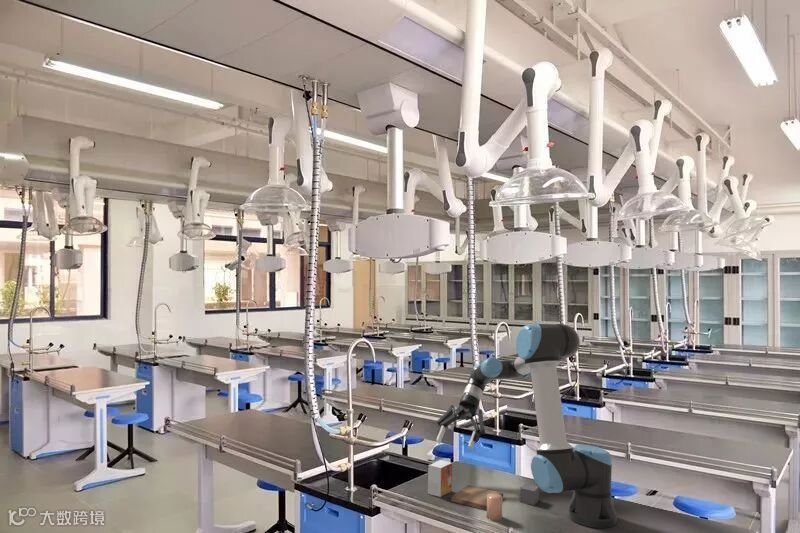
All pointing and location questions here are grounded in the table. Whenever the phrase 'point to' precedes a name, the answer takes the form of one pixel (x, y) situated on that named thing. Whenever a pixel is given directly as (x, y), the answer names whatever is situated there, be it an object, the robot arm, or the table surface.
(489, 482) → the table surface
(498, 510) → the pinkish-brown upright cylinder
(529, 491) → the charcoal block
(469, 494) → the walnut board
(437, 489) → the small box
